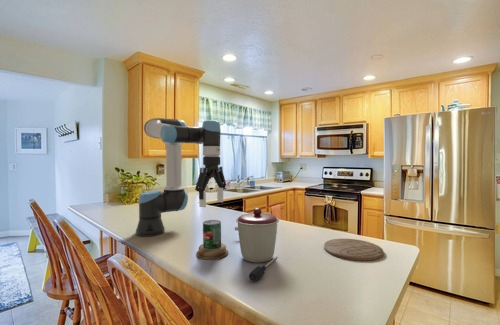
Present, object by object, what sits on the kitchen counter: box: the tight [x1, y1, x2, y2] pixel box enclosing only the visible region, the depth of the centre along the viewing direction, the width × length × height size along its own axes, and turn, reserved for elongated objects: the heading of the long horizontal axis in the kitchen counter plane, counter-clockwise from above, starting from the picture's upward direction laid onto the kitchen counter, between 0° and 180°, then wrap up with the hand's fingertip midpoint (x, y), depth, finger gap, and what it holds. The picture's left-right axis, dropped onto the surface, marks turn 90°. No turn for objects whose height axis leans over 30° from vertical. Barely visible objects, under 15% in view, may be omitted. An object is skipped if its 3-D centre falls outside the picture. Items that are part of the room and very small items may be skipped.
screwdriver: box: [248, 256, 278, 282], centre depth 101 cm, size 26×4×4 cm, turn 156°
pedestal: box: [195, 242, 229, 261], centre depth 117 cm, size 14×14×3 cm
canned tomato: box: [202, 219, 222, 250], centre depth 117 cm, size 8×8×11 cm
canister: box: [235, 207, 280, 264], centre depth 111 cm, size 18×18×21 cm
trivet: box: [323, 238, 384, 262], centre depth 120 cm, size 25×25×2 cm
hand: (211, 204), depth 117 cm, fingers open, 13 cm apart
